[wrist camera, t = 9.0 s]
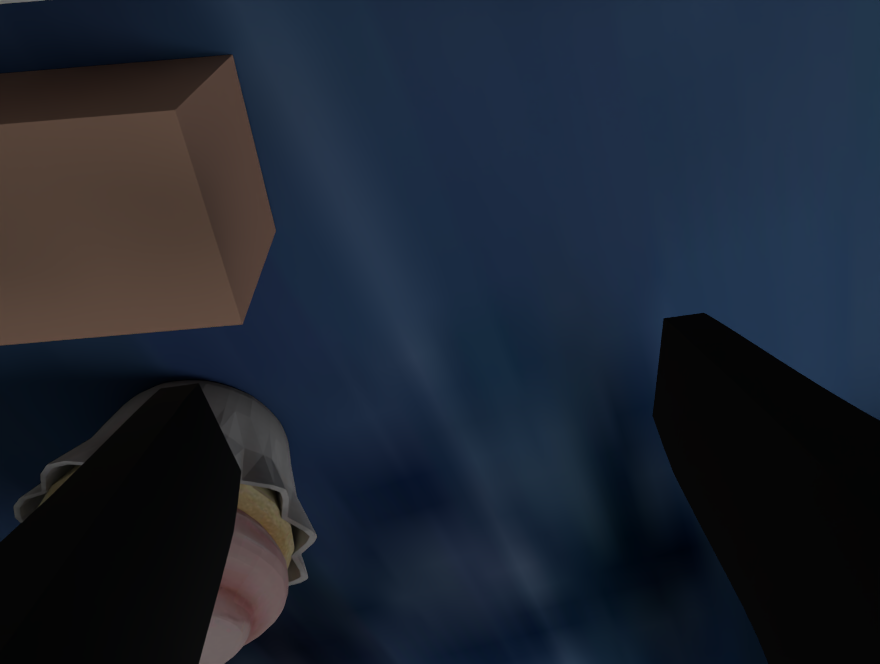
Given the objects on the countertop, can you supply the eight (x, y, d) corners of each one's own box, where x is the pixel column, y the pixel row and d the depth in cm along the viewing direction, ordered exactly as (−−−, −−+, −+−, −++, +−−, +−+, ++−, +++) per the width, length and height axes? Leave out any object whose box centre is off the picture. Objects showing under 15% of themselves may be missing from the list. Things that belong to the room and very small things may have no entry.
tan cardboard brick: (232, 54, 15) (174, 110, 11) (275, 230, 18) (242, 324, 14) (-121, 83, 15) (-305, 149, 11) (-20, 255, 18) (-138, 357, 14)
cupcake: (280, 535, 27) (232, 806, 19) (57, 476, 24) (-113, 769, 16) (370, 397, 23) (357, 675, 15) (109, 302, 20) (-92, 587, 11)
